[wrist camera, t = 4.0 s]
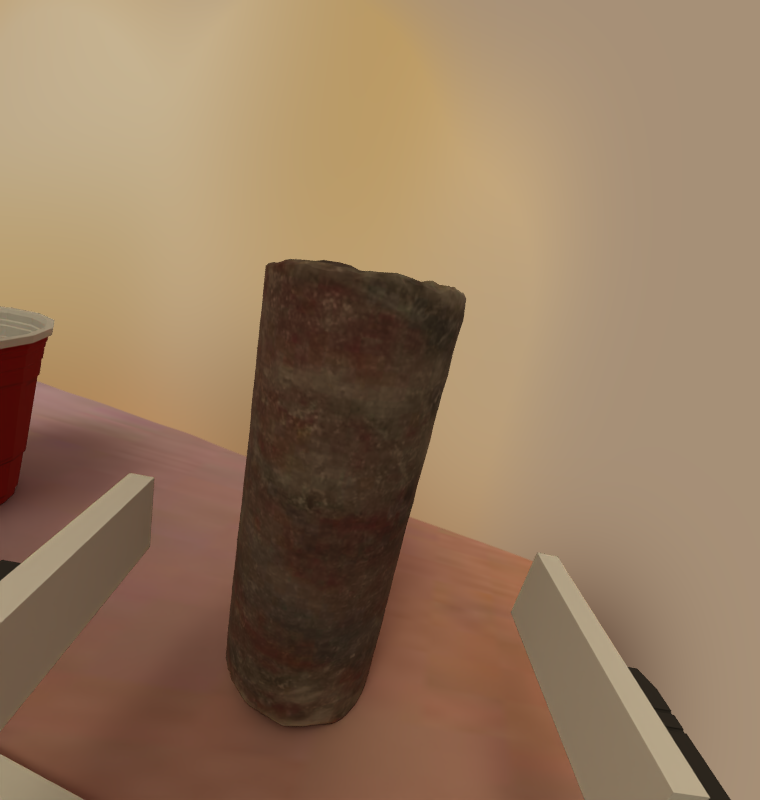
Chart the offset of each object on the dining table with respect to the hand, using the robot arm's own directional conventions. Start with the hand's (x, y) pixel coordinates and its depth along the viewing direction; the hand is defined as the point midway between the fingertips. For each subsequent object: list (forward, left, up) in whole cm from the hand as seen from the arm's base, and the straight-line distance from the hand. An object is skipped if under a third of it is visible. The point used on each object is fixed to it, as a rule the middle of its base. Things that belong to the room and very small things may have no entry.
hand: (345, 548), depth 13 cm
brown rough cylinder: (-2, +4, -11) cm, 12 cm away
